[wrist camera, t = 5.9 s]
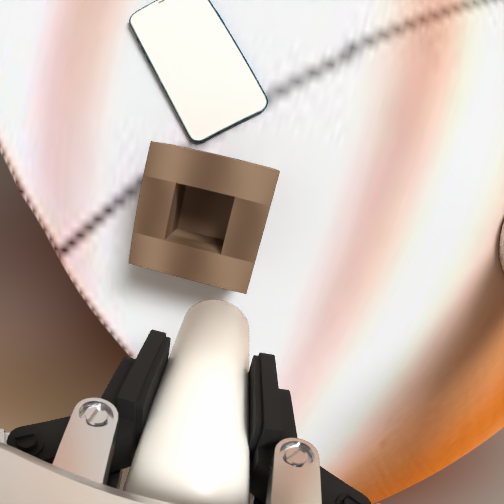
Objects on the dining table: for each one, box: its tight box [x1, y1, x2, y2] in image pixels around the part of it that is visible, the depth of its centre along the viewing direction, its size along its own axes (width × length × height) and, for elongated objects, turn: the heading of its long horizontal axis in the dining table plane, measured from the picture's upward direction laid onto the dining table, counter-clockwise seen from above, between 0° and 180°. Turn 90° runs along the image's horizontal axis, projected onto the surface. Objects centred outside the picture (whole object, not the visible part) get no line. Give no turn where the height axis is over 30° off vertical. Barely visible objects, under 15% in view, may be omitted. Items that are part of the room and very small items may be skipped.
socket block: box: [129, 141, 280, 294], centre depth 27 cm, size 10×10×6 cm
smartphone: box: [129, 0, 268, 142], centre depth 25 cm, size 8×1×16 cm
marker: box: [123, 300, 250, 504], centre depth 9 cm, size 3×3×12 cm
